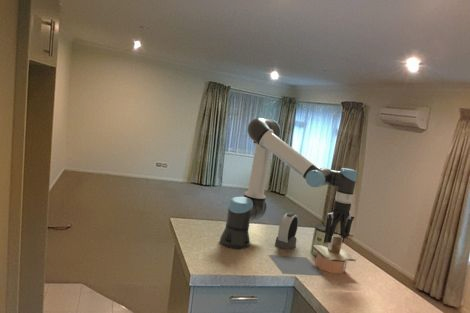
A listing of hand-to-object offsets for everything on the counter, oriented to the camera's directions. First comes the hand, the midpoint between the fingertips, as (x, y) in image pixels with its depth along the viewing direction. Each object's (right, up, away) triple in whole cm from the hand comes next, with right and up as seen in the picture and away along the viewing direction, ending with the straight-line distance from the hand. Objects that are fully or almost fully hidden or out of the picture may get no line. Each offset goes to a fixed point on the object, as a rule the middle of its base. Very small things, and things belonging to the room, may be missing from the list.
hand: (333, 249), depth 176 cm
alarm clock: (-20, -4, +23) cm, 31 cm away
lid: (0, -2, 0) cm, 2 cm away
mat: (-19, -7, -3) cm, 20 cm away
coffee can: (-2, -7, +18) cm, 20 cm away
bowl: (-1, -9, +1) cm, 9 cm away
